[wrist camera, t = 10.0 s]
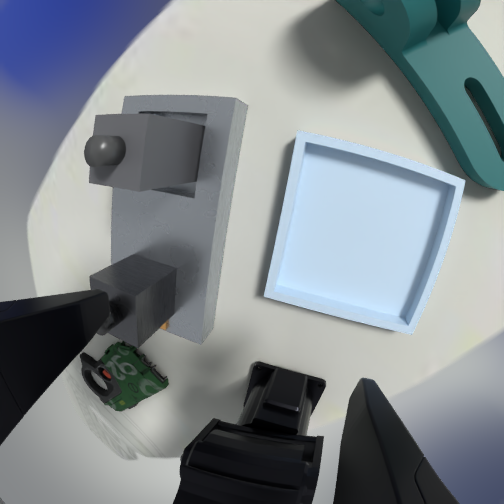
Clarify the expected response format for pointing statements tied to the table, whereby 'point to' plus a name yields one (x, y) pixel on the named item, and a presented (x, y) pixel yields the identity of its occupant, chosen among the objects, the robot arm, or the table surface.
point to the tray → (361, 232)
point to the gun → (122, 377)
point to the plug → (143, 151)
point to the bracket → (445, 74)
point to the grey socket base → (173, 230)
